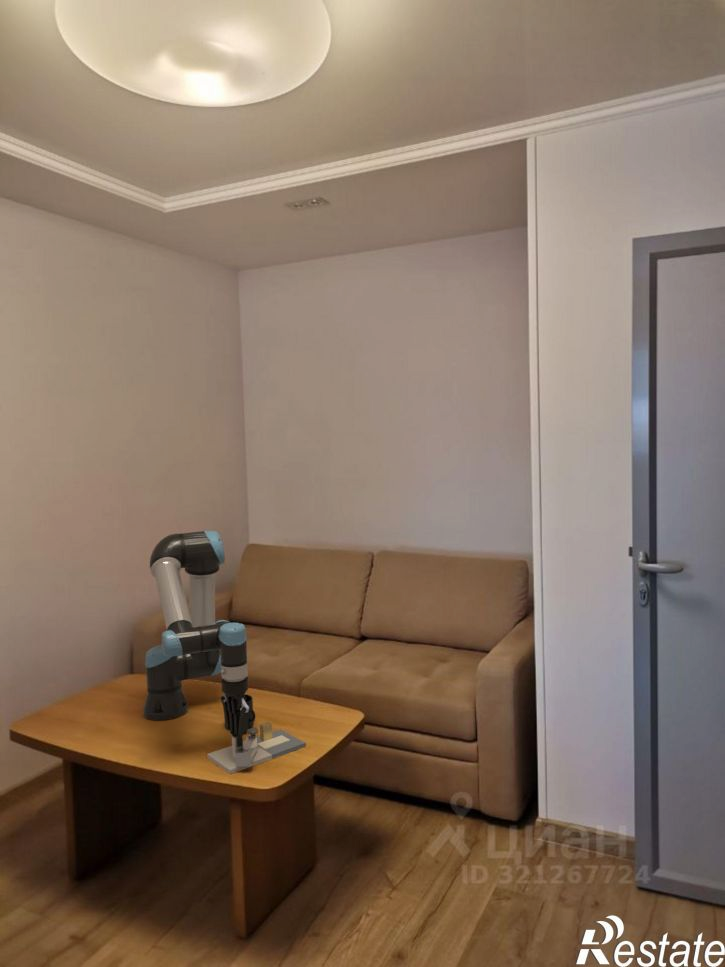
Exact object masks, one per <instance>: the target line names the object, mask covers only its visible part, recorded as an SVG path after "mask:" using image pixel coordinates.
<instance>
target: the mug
mask: <svg viewBox="0 0 725 967" xmlns="http://www.w3.org/2000/svg"><path fill="white" fill-rule="evenodd" d="M245 698H246V704H247V705H251V710H250V713H249V722H248V730H249V729H252V727H253V726H254V723H255V722H254V721H255V720H256V713H255V711H254V705H253V703H254V702H253V699H254V698H253V696H251V695H249V694H246V693H245ZM223 717H224V727H225V729H226V730H227V727H226V721H225V715H224V716H223Z"/></svg>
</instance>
